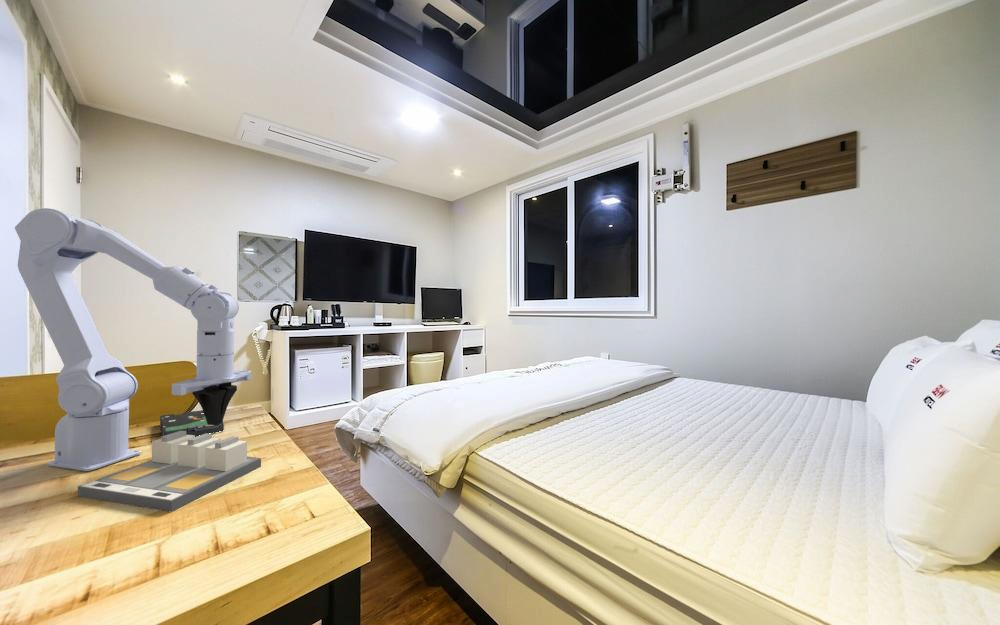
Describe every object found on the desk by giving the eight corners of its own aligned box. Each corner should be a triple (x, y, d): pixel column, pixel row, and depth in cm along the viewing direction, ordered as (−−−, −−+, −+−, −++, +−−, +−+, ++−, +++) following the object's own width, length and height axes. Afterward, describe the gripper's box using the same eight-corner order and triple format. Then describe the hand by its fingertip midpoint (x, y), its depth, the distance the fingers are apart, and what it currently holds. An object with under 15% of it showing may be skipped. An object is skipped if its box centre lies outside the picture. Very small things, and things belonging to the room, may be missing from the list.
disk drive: (158, 427, 86) (162, 444, 75) (158, 415, 85) (163, 431, 75) (214, 419, 93) (225, 433, 82) (214, 408, 93) (225, 421, 82)
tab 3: (205, 468, 60) (205, 442, 60) (227, 459, 64) (227, 434, 64) (225, 471, 60) (226, 445, 60) (246, 461, 64) (247, 436, 64)
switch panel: (77, 496, 54) (77, 485, 54) (183, 456, 69) (183, 448, 69) (171, 511, 51) (171, 500, 51) (261, 466, 65) (261, 457, 65)
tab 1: (151, 461, 63) (152, 436, 62) (176, 452, 66) (176, 429, 66) (170, 464, 62) (171, 438, 62) (194, 454, 66) (195, 431, 66)
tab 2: (177, 465, 62) (178, 439, 61) (201, 455, 65) (201, 431, 65) (197, 467, 61) (198, 441, 61) (220, 458, 65) (220, 433, 65)
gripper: (195, 360, 63) (194, 438, 64) (264, 351, 78) (263, 414, 78) (162, 358, 65) (161, 434, 65) (235, 349, 79) (234, 412, 79)
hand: (214, 423), depth 71 cm, fingers closed
